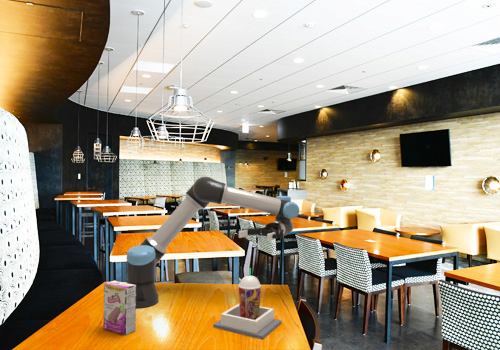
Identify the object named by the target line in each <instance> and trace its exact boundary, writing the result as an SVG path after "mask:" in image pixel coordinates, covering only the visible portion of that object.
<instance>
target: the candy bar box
mask: <svg viewBox="0 0 500 350" xmlns="http://www.w3.org/2000/svg"><path fill="white" fill-rule="evenodd" d="M136 311H137V308H136V285H133V284H129V283H127V282H123V281H118V280H111V281H107V282H105V283H103V328H102V329H103V330H107V331H108V332H109V331H110V332H112V333H116V334H119V335H123V336H128V335H130V334H131V333H134V332H136V319H137V318H136V314H137V313H136Z"/></svg>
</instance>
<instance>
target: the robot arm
mask: <svg viewBox="0 0 500 350" xmlns="http://www.w3.org/2000/svg"><path fill="white" fill-rule="evenodd" d="M291 199H292V198H291V196H290V195H278V196H276V197H272V196H268V195H264V194H261V193H256V192H252V191H249V190H243V189H241V188H235V187H232V186H228V185H227V183H226V182H221V181H218V180H216V179H214V178H212V177H210V176H201V177H198V178H196V180H195V182H194V183H193V184H192V185H191V187H190V188H189V189H188V190H187V191H185V198H184V199H183V200H182V201H181V203H180V204H179V205H178V206H177V208H175V210H173V212H171V214H170V215H169V217H168V218H167V219H166V220H165V221H164V222H163V223H162V224H161V226H159V228H158V229H157V230H156V231H155V232H154V233H153V235H152V236H147V237H146V238H145V239H144V240H143V241H142V242H141V243H140V245H136V246H133V247H130V248H129V249H128V250H127V254H126V283H129V284H133V285H136V309H143V308H147V307H148V308H149V307H152V306H155V305H156V304H158V302H159V299H160V298H159V297H160V295H159V293H158V292H157V287H156V286H157V285H156V283H155V281H156V280H155V279H156V278H155V277H156V276H155V275H156V274H155V273H156V269H155V268H156V266H157V264H158V263H159V262H160V261H161V260H162V258H163V257H164V256H165V254H167V248H168V246H169V245H170V244H171V243H172V242H173V241H174V239H176V238H177V236H178V235H179V234H180V232H182V230H183V229H184V228H185V227H186V226H187V224H189V222H191V220H192V218H193V217H194V216H195V215H196V214H197V213H198V211H199V210H200V211H201V210H204V209H206V207H207V206H208V205H209V204H211V203H213V204H218V205H222V204H227V205H232V206H237V207H240V208H245V209H249V210H252V211H253V210H254V211H257V212H262V213H267V214H270V215H275V221H271V222H268V223H267V224H266V225H265V226H264V227H253V228H252V227H251V228H241V230H239V231H238V238H239V239H242V238H246V237H248V236H260V237H261V236H262V237H263V236H264V237H266V238H267V239H266V241H268V242H269V241H273V240H275V239H276V240H278V239H280V240H283V239H284V236H287V235H290V234H291V233H292V232H293V231H294V224H293V222H292V220H294V219H297V217H298V216H299V214H300V207H299V205H298V204H297V203H295V202H294V201H292V200H291Z"/></svg>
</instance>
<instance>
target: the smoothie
mask: <svg viewBox="0 0 500 350" xmlns="http://www.w3.org/2000/svg"><path fill="white" fill-rule="evenodd" d="M251 273H252V268H251V267H249V268H248V275H245V276H244V277H243V278H242V279H241V280H240V281H239V284H238V298H239V300H238V301H239V303H238V304H240V317H243V318H248V319H252V320H256V319H257V318H259V307H260V306H261V305H260V303H261V291H262V285H261V283H260V281H259V280H260V279H258V278H257V276H254V275H251Z"/></svg>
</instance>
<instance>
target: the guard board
mask: <svg viewBox="0 0 500 350" xmlns="http://www.w3.org/2000/svg"><path fill="white" fill-rule="evenodd" d="M282 322H283V321H282V320H281V319H277V318H275V309H274V308H271V307H266V306H263V305H262V306H261V305H260V307H259V318H257V319H256V320H252V319H248V318H243V317H240V304H239V303H237V304H236V305H234V306H232V307H230V308H229V309H227V310H225V311H223V312H222V313H221V314H220V319H219V320H218V321H216V322H214V323H213V324H212V326H213V328H215V329H220V330H224V331H227V332H231V333H237V334H239V335H244V336H247V337H252V338H256V339H259V340H264V339H265V338H266V337H267V336H268V335H269V334H271V332H273V331H274V330H275V329H276V328H278V327H279V326H280V325H281V324H282Z"/></svg>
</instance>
